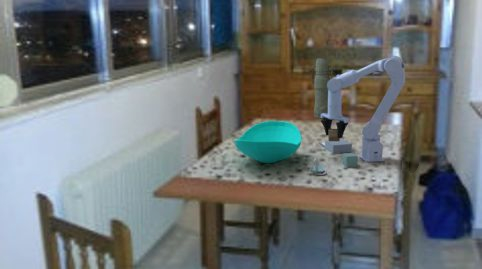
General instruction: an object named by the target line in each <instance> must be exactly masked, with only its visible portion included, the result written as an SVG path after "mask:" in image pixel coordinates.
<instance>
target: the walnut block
mask: <svg viewBox="0 0 482 269" xmlns="http://www.w3.org/2000/svg"><path fill="white" fill-rule="evenodd" d="M327 138H328V139H327V141H328V140H329V141H340V139H341V138H338V130H337V128H331V129H328V136H327Z"/></svg>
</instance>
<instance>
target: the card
mask: <svg viewBox="0 0 482 269" xmlns="http://www.w3.org/2000/svg"><path fill="white" fill-rule="evenodd" d="M318 144H319V145H320V146H321V147H322V148H325V141H321V142H320V141H319V142H318Z"/></svg>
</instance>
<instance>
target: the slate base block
mask: <svg viewBox="0 0 482 269" xmlns="http://www.w3.org/2000/svg"><path fill="white" fill-rule="evenodd" d="M324 142H325V147H324V149H325V150H327V151H329V152H330V153H331V154H341V153H342V154H344V153H353V143H351V142H350V141H348V140H345V139H342V138H340V141H329V140H328V139H327V140H324Z"/></svg>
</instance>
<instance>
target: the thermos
mask: <svg viewBox="0 0 482 269" xmlns="http://www.w3.org/2000/svg"><path fill="white" fill-rule="evenodd" d="M314 69H315V70H314ZM329 70H330V74H329ZM314 72H315V76H314ZM329 75H330V76H329ZM332 78H333V67H332V65H330V61H329V58H327V57H323V56H321V57H318V58H316V62H315V65H313V66H312V68H311V83H312V84H314V86H313V88H314V107H313V115H314V116H313V117H315V118H314V119H317V118H321V114H322V113H326V114H328V91H329V90H328V88H327V83H328V81H329V80H331V79H332Z"/></svg>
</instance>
